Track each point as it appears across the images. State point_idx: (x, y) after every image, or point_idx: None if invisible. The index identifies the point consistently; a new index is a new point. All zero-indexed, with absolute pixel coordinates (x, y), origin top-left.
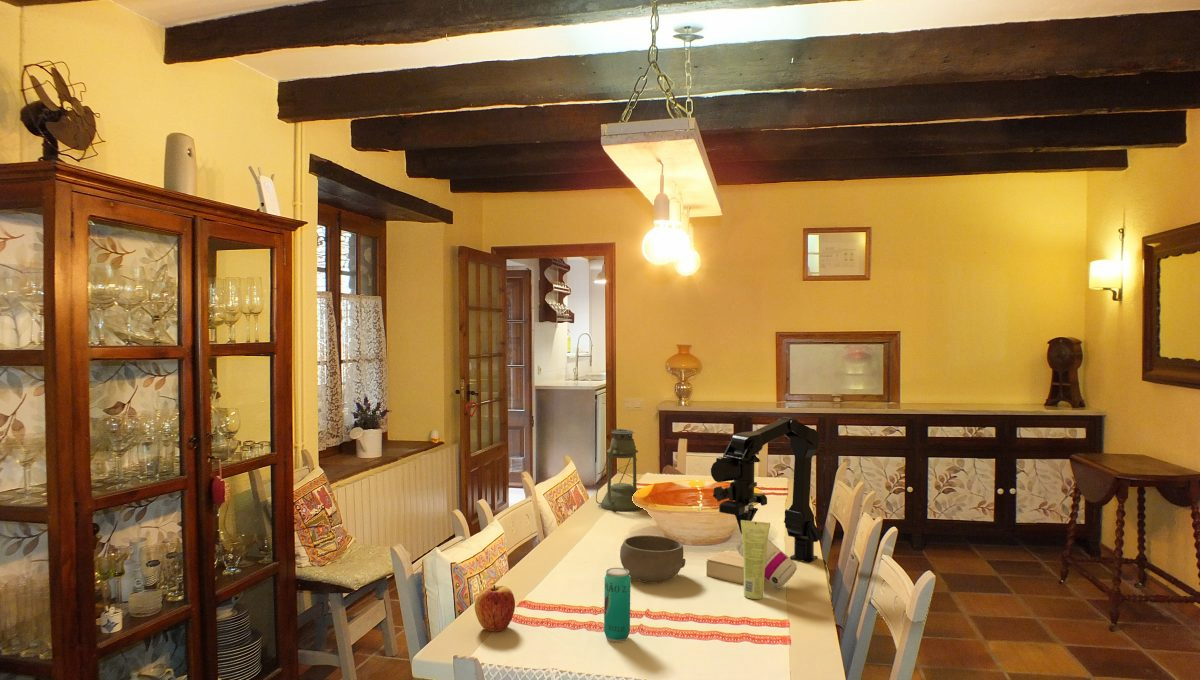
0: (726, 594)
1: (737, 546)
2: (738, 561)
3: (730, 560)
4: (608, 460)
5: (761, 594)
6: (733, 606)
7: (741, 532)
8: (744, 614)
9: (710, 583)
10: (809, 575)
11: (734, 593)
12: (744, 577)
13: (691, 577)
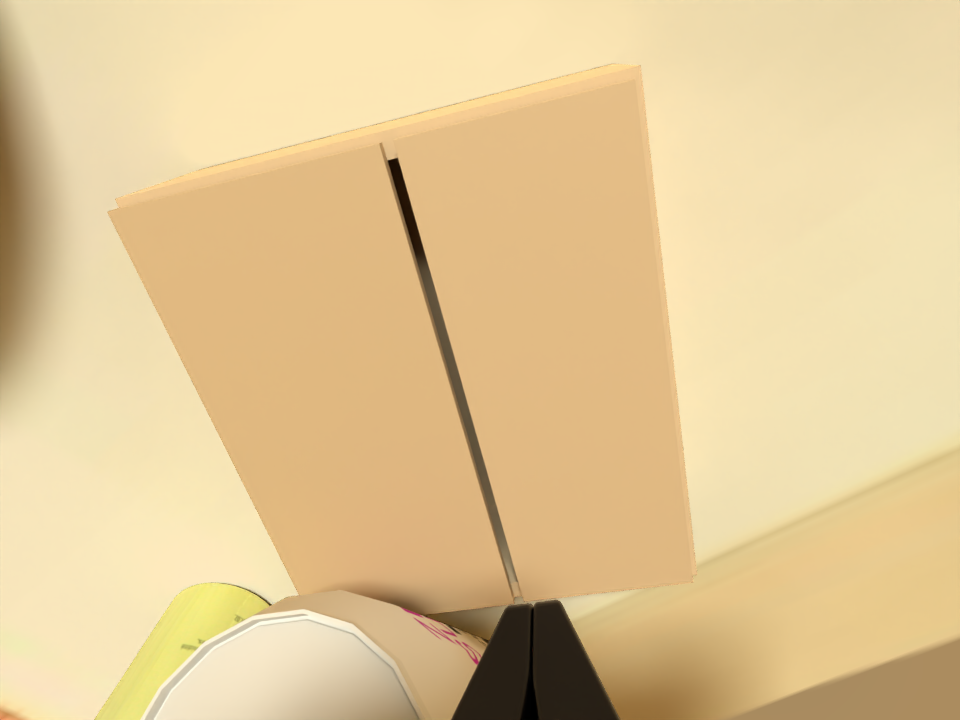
0: (99, 517)
1: (148, 713)
2: (370, 461)
3: (321, 398)
4: None
5: None
6: (30, 630)
7: (504, 632)
8: (26, 701)
9: (120, 324)
10: (859, 626)
11: (158, 535)
12: (103, 706)
13: (44, 107)
